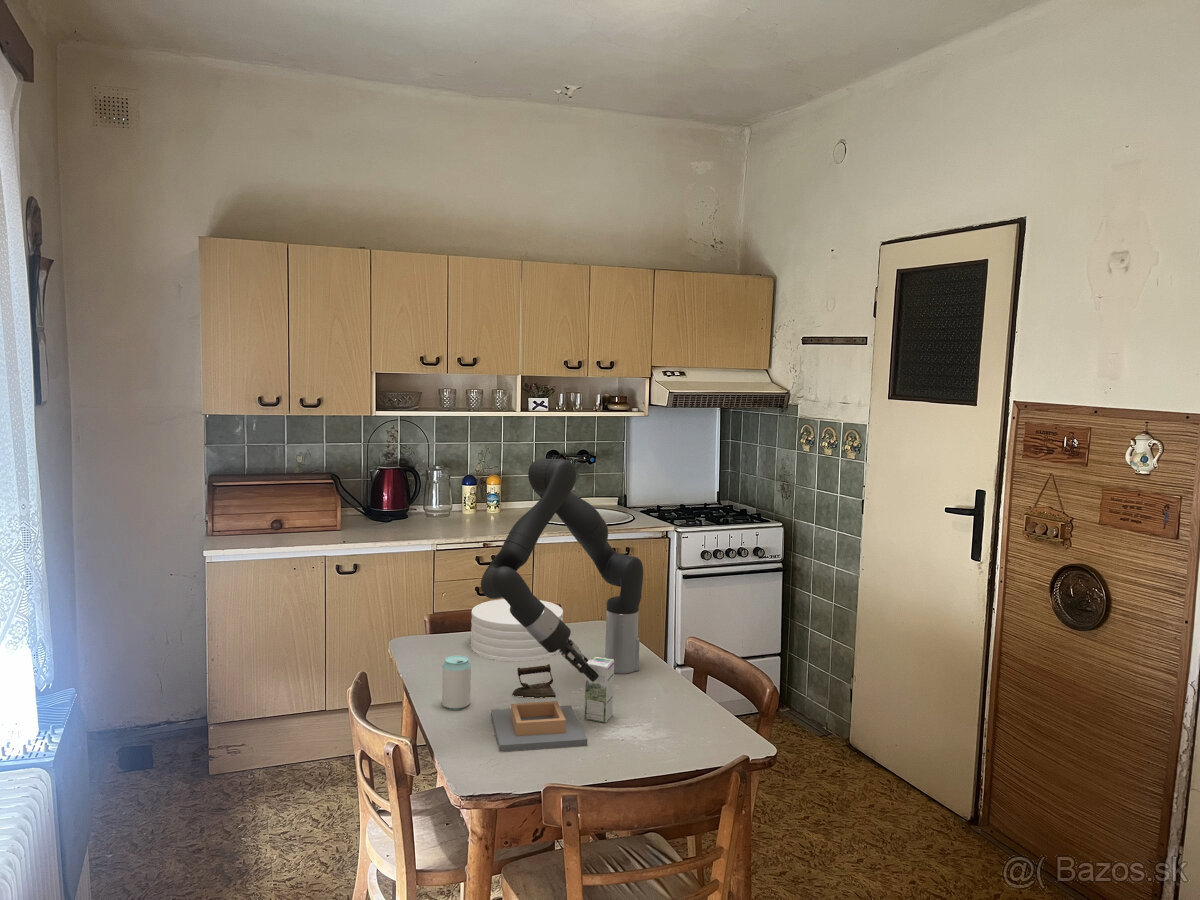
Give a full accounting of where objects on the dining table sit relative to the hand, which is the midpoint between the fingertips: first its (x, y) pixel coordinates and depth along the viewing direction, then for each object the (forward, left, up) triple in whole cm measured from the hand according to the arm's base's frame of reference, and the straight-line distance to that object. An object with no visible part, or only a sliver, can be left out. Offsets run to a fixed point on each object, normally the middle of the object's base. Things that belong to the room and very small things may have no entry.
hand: (592, 672), depth 207 cm
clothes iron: (+12, -18, -12) cm, 24 cm away
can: (+32, -13, -12) cm, 37 cm away
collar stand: (+14, +5, -12) cm, 19 cm away
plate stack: (+11, -57, -12) cm, 59 cm away
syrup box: (-2, 0, -12) cm, 12 cm away
